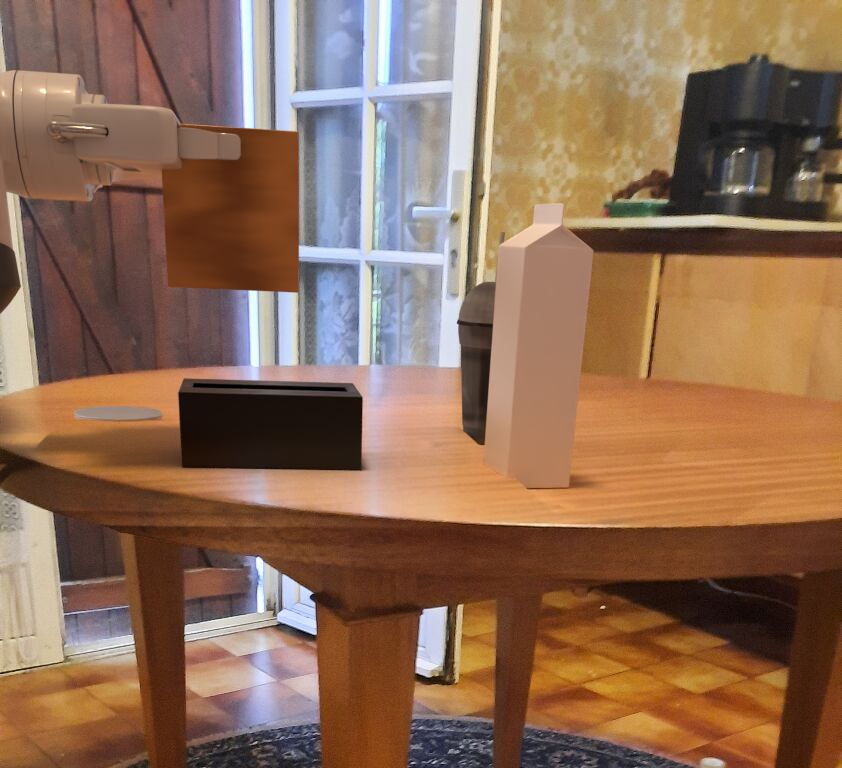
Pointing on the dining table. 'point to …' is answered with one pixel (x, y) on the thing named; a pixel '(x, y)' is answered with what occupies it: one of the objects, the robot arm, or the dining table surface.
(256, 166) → the toast
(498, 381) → the milk
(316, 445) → the toaster
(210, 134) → the robot arm
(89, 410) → the plate
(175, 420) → the dining table surface
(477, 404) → the beverage cup
